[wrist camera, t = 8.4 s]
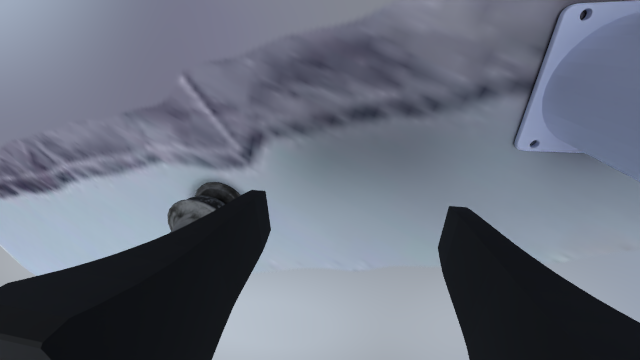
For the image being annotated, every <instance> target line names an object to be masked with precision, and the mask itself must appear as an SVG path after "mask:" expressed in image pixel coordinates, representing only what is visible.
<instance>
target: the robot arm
mask: <svg viewBox="0 0 640 360" xmlns="http://www.w3.org/2000/svg"><path fill="white" fill-rule="evenodd" d="M583 10H586V11H587V15H586V17H585V18H584V19H583V20H581V19H580V14H581V12H582V11H583ZM534 140H536V143H535V144H534V145H532V146H530V143H531V142H532V141H534ZM514 145H515V147H516V148H518V149H519V150H521V151H542V152H568V153H586V154H588V155H590V156H592V157H593V158H595V159H597V160H599V161H601V162H603V163H605V164H607V165H609V166H611V167H613V168H615V169H616V170H618V171H620V172H622V173H624V174H626V175H628V176H630V177H632V178H634V179H636V180H637V181H639V182H640V0H637V1H616V2H596V3H578V4H573V5H569V6H568V7H566V8H565V9H564V10H563V11H562V12H561V14H560V16H559V18H558V21H557V24H556V27H555V30H554V33H553V35H552V38H551V41H550V44H549V47H548V49H547V52H546V55H545V58H544V61H543V64H542V66H541V69H540V72H539V75H538V78H537V80H536V83H535V86H534V89H533V92H532V94H531V97H530V100H529V103H528V106H527V109H526V111H525V114H524V117H523V120H522V123H521V125H520V128H519V131H518V134H517V137H516V140H515V144H514ZM270 231H271V228H270V220H269V213H268V206H267V199H266V192H265V191H257V190H251V191H249V192H247V193H245V194H243V195H241V196H239V197H237V198H235V199H234V200H232V201H230V202H228V203H227V204H225V205H223V206H221V207H220V208H218V209H216V210H214V211H213V212H211V213H209V214H207V215H205V216H203V217H201V218H199V219H198V220H196V221H194V222H192V223H190V224H188V225H186V226H184V227H182V228H180V229H178V230H175V231H173V232H171V233H169V234H167V235H164V236H162V237H160V238H157V239H155V240H152V241H150V242H147V243H145V244H142V245H139V246H136V247H134V248H131V249H128V250H125V251H123V252H120V253H117V254H114V255H111V256H108V257H105V258H102V259H98V260H95V261H92V262H88V263H85V264H82V265H78V266H75V267H71V268H67V269H64V270H60V271H56V272H52V273H48V274H44V275H40V276H36V277H32V278H27V279H23V280H19V281H15V282H11V283H7V284H5V285H3V286H1V287H0V360H212V358H213V355H214V352H215V350H216V347H217V345H218V342H219V339H220V337H221V334H222V332H223V330H224V327H225V325H226V323H227V320H228V318H229V315H230V313H231V310H232V308H233V306H234V304H235V302H236V300H237V298H238V296H239V294H240V293H241V291H242V289H243V287H244V285H245V283H246V282H247V280H248V278H249V276H250V274H251V272H252V271H253V269H254V267H255V265H256V263H257V261H258V259H259V257H260V256H261V254H262V252H263V250H264V247H265V244H266V242H267V239H268V236H269V233H270ZM438 251H439V257H440V263H441V267H442V272H443V276H444V279H445V282H446V285H447V288H448V291H449V294H450V297H451V300H452V303H453V306H454V309H455V312H456V315H457V318H458V321H459V324H460V326H461V330H462V333H463V336H464V339H465V343H466V346H467V350H468V355H469V359H470V360H640V323H639V322H637V321H635V320H634V319H632V318H630V317H628V316H626V315H625V314H623V313H621V312H619V311H617V310H615V309H614V308H612V307H610V306H609V305H607V304H605V303H603V302H602V301H600V300H598V299H596V298H595V297H593V296H591V295H590V294H588V293H587V292H585V291H583V290H582V289H580V288H578V287H577V286H575V285H574V284H572V283H570V282H569V281H567V280H566V279H564V278H562V277H561V276H559V275H558V274H556V273H555V272H553V271H552V270H550V269H549V268H547V267H546V266H545V265H543V264H542V263H540V262H539V261H537V260H536V259H535V258H533V257H532V256H530V255H529V254H528V253H526V252H525V251H523V250H522V249H521V248H519V247H518V246H517V245H515V244H514V243H513V242H511V241H510V240H509V239H507V238H506V237H505V236H504V235H502V234H501V233H500V232H498V231H497V230H496V229H495V228H493V227H492V226H491V225H490V224H488V223H487V222H486V221H484V220H483V219H482V218H481V217H479V216H478V215H477V214H475V213H474V212H473V211H471V210H470V209H468V208H466V207H454V206H449V209H448V212H447V216H446V220H445V223H444V227H443V231H442V235H441V238H440V242H439V246H438Z"/></svg>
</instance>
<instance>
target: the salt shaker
mask: <svg viewBox="0 0 640 360" xmlns="http://www.w3.org/2000/svg"><path fill="white" fill-rule="evenodd" d="M239 196H241V195H240V194H239V193H238V192H237V191H235V190H234V189H233V188H231V187H229V186H228V185H225V184H222V183H218V182H210V183H206V184H204V185H202V186H201V187H200V188H199V189H198V190H197V192H196V195H195V197H192V198H189V199H187V200H181V201H179V202H177V203H175V204H173V206H172V207H171V208H170V209H169V212H168V224H169V227H170V229H171V232H173V231H175V230H178V229H180V228H182V227H184V226H186V225H188V224H190V223H192V222H194V221H196V220H198V219H199V218H201V217H203V216H205V215H207V214H209V213H211V212H213V211H214V210H216V209H218V208H220V207H221V206H223V205H225V204H227V203H228V202H230V201H232V200H234V199H235V198H237V197H239ZM171 232H170V233H171Z"/></svg>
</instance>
